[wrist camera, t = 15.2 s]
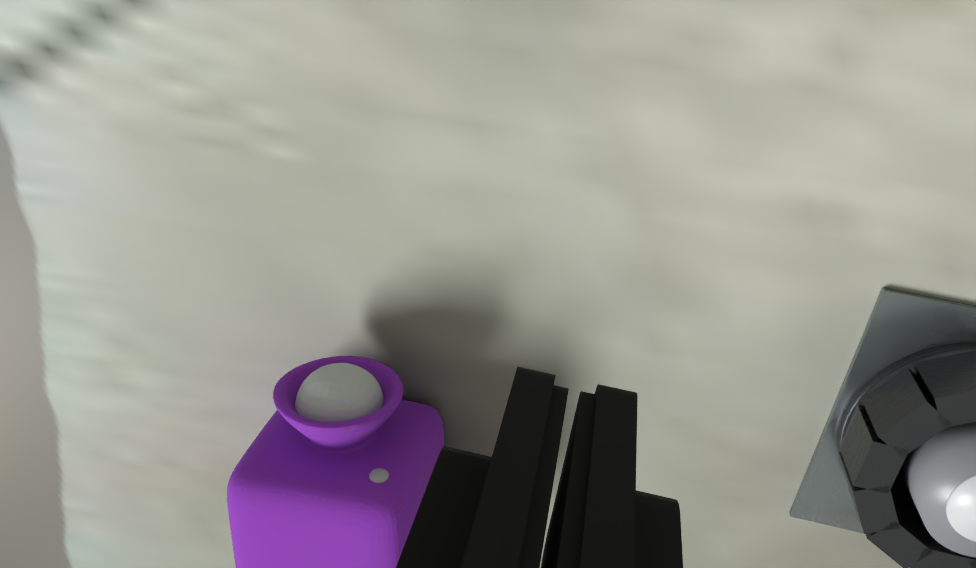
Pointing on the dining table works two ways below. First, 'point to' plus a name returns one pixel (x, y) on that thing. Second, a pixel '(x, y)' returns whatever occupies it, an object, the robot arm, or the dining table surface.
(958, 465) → the grey rounded dome
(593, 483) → the robot arm
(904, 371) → the lens barrel
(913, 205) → the dining table surface
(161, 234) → the dining table surface
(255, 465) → the toy camera
